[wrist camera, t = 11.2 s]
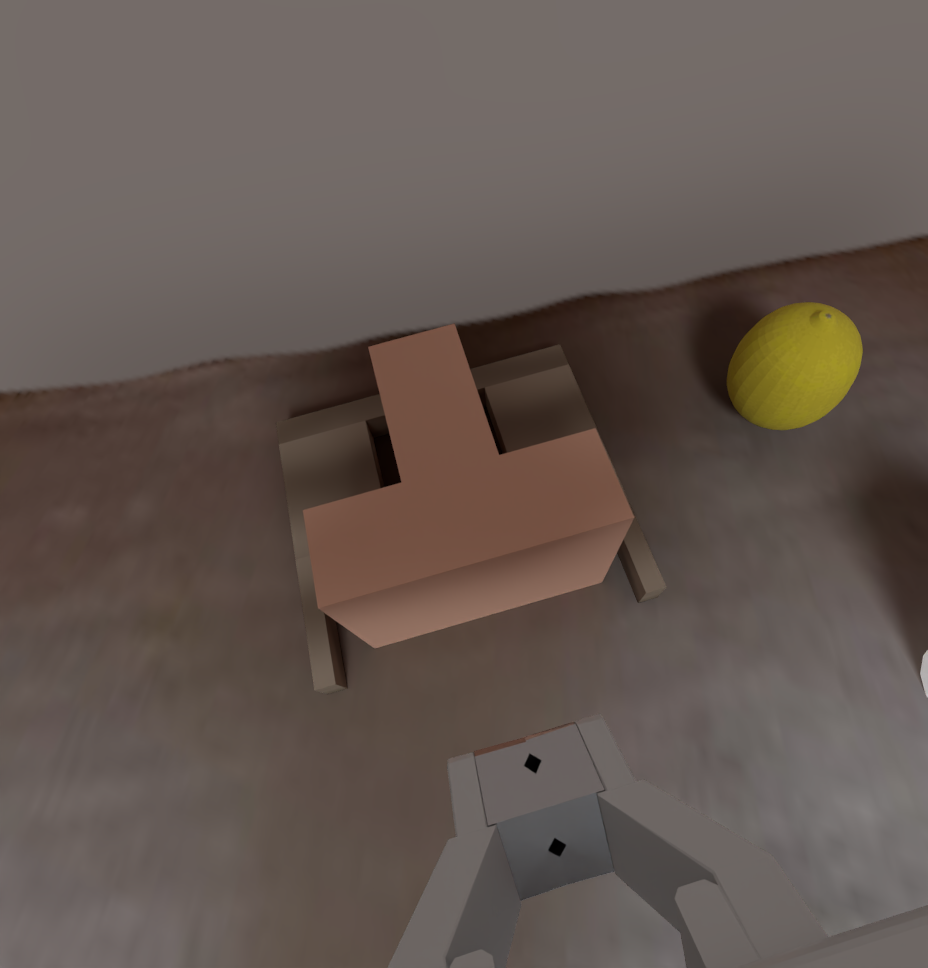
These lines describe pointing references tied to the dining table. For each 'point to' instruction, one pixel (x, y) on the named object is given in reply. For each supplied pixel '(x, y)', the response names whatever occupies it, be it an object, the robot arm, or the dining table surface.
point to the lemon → (794, 366)
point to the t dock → (355, 470)
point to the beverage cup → (925, 672)
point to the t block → (460, 509)
